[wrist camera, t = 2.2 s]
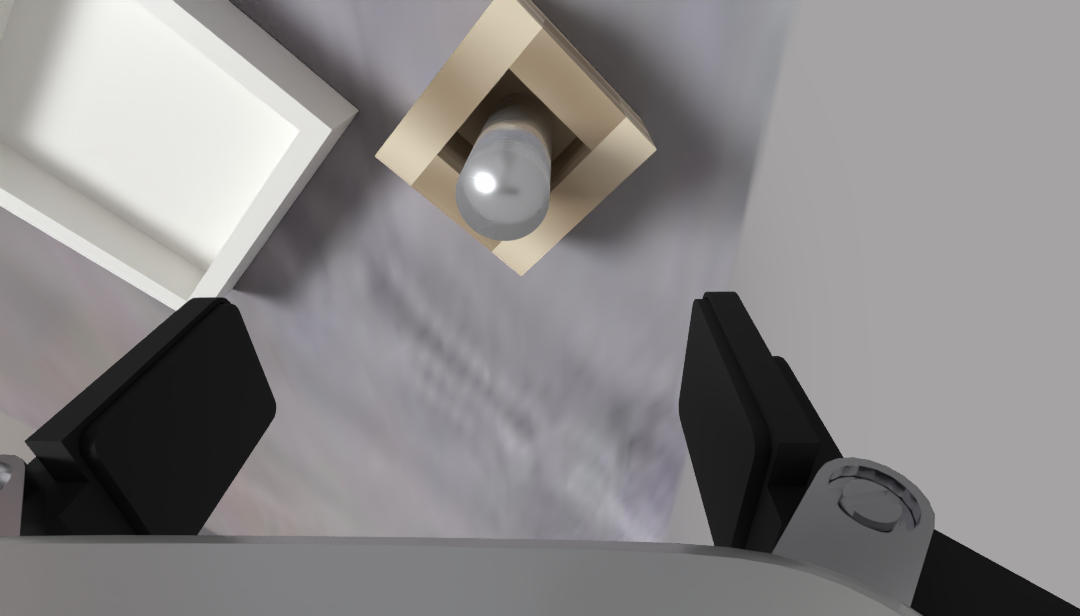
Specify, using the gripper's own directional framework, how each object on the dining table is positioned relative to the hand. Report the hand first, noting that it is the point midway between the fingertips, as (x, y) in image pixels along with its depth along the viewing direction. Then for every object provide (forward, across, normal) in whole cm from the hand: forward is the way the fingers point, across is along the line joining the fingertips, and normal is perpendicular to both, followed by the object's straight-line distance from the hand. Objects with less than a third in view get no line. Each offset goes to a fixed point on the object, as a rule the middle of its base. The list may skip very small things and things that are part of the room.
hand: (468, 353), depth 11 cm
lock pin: (+16, 0, -1) cm, 16 cm away
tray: (+17, +18, -2) cm, 25 cm away
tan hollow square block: (+17, 0, -1) cm, 17 cm away
